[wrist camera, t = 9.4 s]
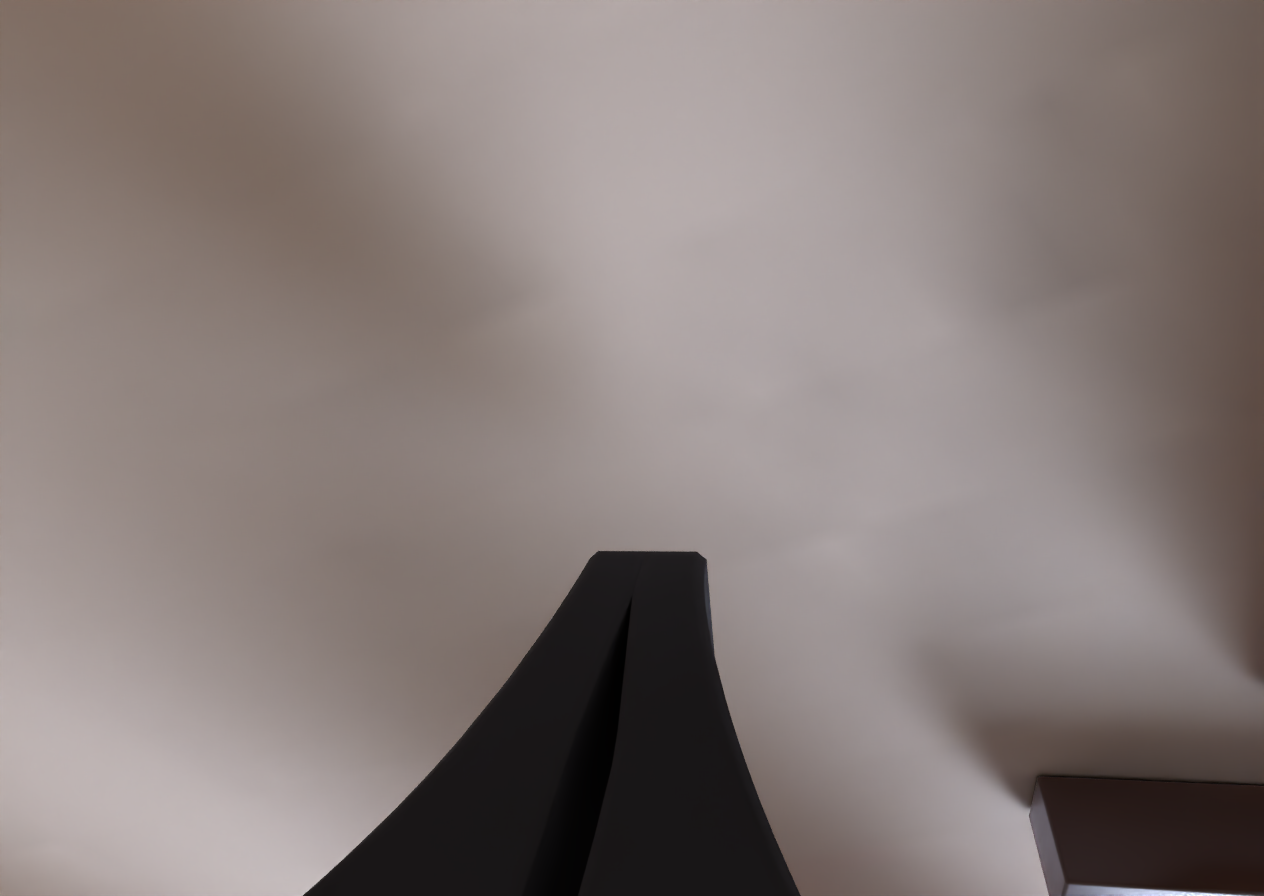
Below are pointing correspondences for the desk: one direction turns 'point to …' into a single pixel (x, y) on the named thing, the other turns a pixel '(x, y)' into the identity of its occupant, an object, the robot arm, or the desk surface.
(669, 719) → the robot arm
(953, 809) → the desk surface
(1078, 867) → the frame
